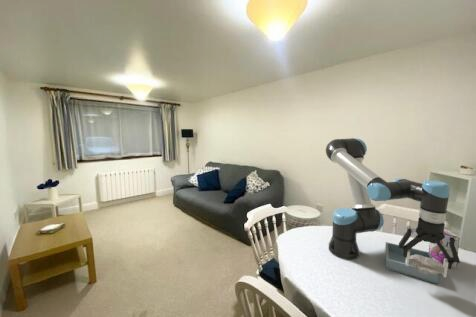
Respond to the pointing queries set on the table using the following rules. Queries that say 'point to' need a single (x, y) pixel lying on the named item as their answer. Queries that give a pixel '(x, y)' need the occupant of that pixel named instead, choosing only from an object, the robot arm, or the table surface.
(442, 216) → the robot arm
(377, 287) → the table surface
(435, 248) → the candy bar box
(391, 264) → the bin
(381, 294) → the table surface
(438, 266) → the fossil
